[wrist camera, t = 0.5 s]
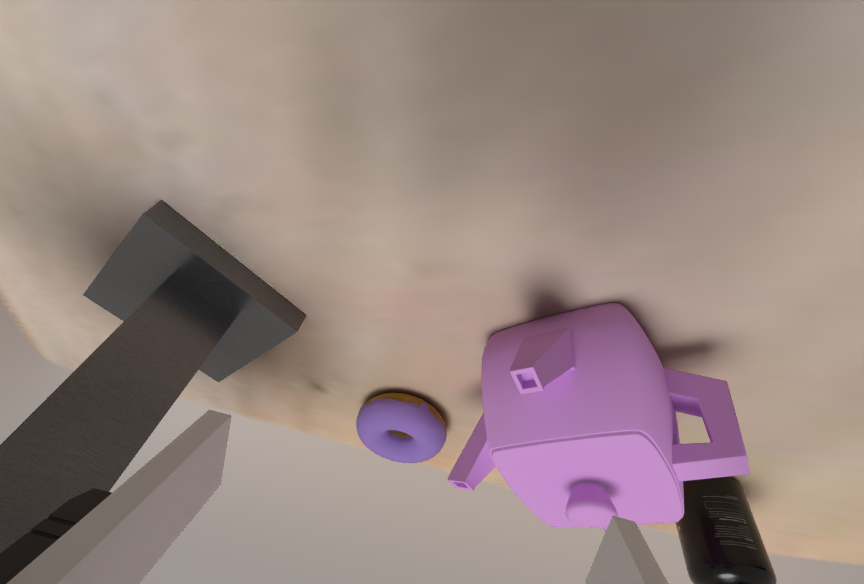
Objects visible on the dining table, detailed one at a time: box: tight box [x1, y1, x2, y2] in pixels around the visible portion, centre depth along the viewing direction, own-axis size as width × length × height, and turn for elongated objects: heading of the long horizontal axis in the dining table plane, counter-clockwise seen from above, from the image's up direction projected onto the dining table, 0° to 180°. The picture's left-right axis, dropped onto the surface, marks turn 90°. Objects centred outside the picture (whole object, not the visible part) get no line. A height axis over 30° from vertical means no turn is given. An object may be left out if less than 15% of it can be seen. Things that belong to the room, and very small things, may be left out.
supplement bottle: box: [676, 477, 776, 584], centre depth 40 cm, size 7×7×12 cm
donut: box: [356, 393, 447, 463], centre depth 44 cm, size 10×9×5 cm
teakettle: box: [448, 303, 750, 532], centre depth 32 cm, size 17×17×12 cm
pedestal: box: [0, 200, 306, 553], centre depth 28 cm, size 20×14×28 cm
